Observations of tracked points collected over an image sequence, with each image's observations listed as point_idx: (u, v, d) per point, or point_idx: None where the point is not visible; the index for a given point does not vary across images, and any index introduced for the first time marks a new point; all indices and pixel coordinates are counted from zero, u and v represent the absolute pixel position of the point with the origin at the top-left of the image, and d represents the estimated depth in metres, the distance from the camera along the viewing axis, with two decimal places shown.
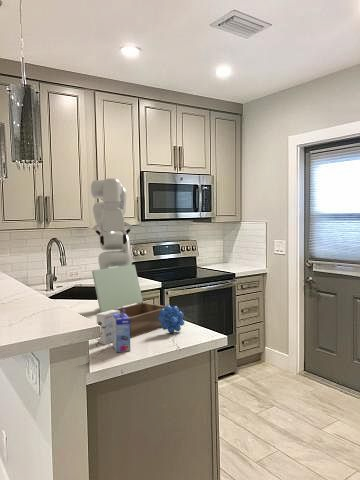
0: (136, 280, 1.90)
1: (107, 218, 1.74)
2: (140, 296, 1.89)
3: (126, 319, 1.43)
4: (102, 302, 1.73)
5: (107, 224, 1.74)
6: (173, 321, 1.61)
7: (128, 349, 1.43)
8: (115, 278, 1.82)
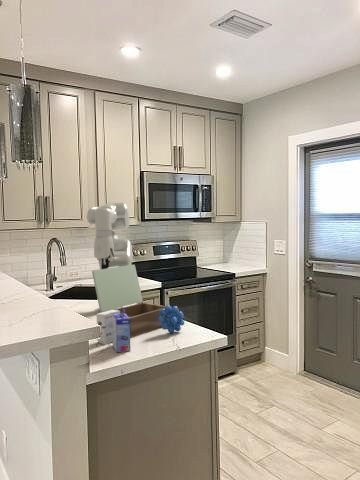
0: (136, 280, 1.90)
1: None
2: (140, 296, 1.89)
3: (126, 319, 1.43)
4: (102, 302, 1.73)
5: None
6: (173, 321, 1.61)
7: (128, 349, 1.43)
8: (115, 278, 1.82)
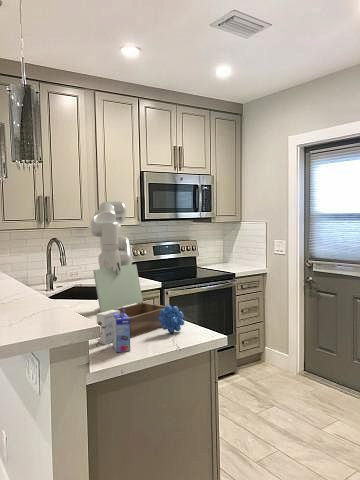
0: (137, 280, 1.90)
1: None
2: (140, 296, 1.89)
3: (126, 319, 1.43)
4: (102, 302, 1.73)
5: None
6: (173, 321, 1.61)
7: (128, 349, 1.43)
8: (116, 278, 1.81)
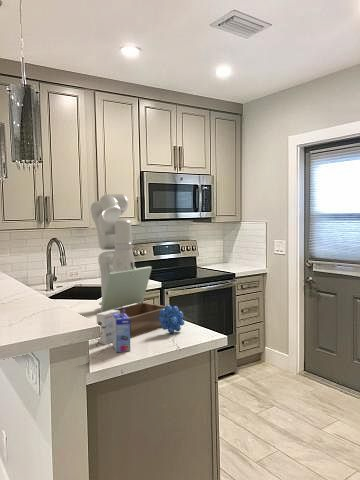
0: (146, 282, 1.86)
1: None
2: (142, 297, 1.88)
3: (126, 319, 1.43)
4: (106, 303, 1.71)
5: None
6: (173, 321, 1.61)
7: (128, 349, 1.43)
8: (127, 281, 1.76)
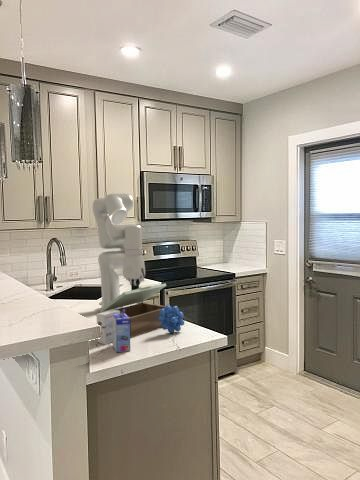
0: (154, 293, 1.83)
1: None
2: (144, 300, 1.88)
3: (126, 319, 1.43)
4: (109, 307, 1.70)
5: None
6: (173, 321, 1.61)
7: (128, 349, 1.43)
8: (138, 295, 1.72)
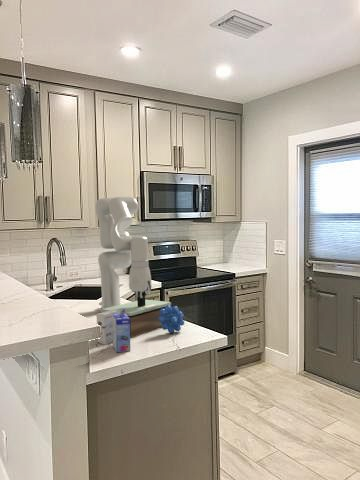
0: None
1: None
2: None
3: (126, 319, 1.43)
4: None
5: None
6: (173, 321, 1.61)
7: (128, 349, 1.43)
8: None
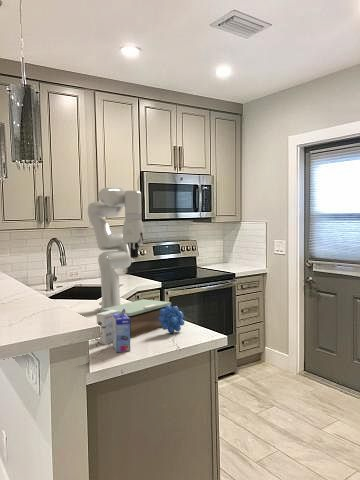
0: None
1: None
2: None
3: (126, 319, 1.43)
4: None
5: None
6: (173, 321, 1.61)
7: (128, 349, 1.43)
8: None
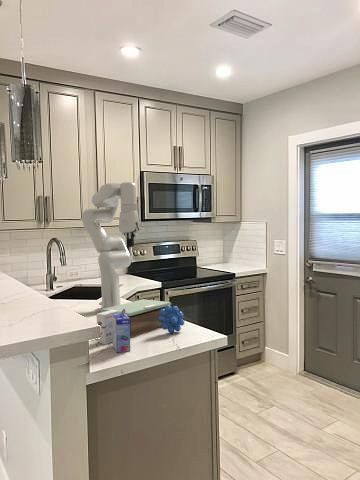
0: None
1: None
2: None
3: (126, 319, 1.43)
4: None
5: None
6: (173, 321, 1.61)
7: (128, 349, 1.43)
8: None
